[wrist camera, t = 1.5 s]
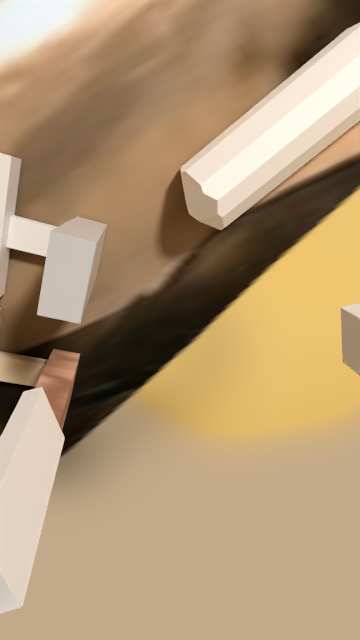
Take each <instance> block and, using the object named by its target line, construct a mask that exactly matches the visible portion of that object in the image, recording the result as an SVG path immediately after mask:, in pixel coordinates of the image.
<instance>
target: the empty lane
mask: <svg viewBox="0 0 360 640" xmlns="http://www.w3.org/2000/svg"><path fill="white" fill-rule="evenodd" d="M20 167H21V159H19V158H16V157H12V156H9V155H6V154H2V153H0V297H1V296H2V295H3V294H4V293H5V285H6V277H7V269H8V262H9V254H10V248H13V249H17V250H21V251H25V252H29V253H33V254H37V255H41V256H45V257H46V261H45V268H44V274H43V280H42V286H41V292H40V299H39V305H38V311H37V315H40V316H45V317H49V318H54V319H59V320H64V321H69V322H74V323H79V324H80V323H81V320H82V317H83V314H84V311H85V309H86V306H87V303H88V300H89V297H90V295H91V292H92V289H93V286H94V283H95V280H96V276H97V271H98V266H99V262H100V257H101V252H102V248H103V243H104V238H105V233H106V229H107V224H103V223H99V222H96V221H92V220H89V219H85V218H81V217H78V216H77V217H76V218H74V219H72V220H70V221H68V222H66V223H64V224H62V225H60V226H58V227H57V226H53V225H49V224H45V223H42V222H38V221H34V220H30V219H27V218H23V217H19V216H15V215H14V214H15V207H16V199H17V191H18V183H19V175H20Z"/></svg>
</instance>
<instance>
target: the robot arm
mask: <svg viewBox="0 0 360 640" xmlns="http://www.w3.org/2000/svg"><path fill="white" fill-rule="evenodd" d="M341 326H342V352H343V362H344V363H345V364H346V365H347V366H349V367H350V368H351V369H352V370H354V371H355V372H356V373H357V374H359V375H360V304H358V303H357V304H353V305H349V306H345V307H342V308H341ZM64 439H65V438H64V435H63V433H62V431H61V428H60V426H59V424H58V422H57V419H56V417H55V415H54V413H53V410H52V408H51V406H50V404H49V401H48V399H47V397H46V394H45V392H44V390H43V388H42V387H39V388H35V389H31V390H28V391H24V392H23V394H22V396H21V398H20V400H19V402H18V404H17V406H16V408H15V410H14V412H13V413H12V415H11V417H10V419H9V421H8V423H7V425H6V427H5V429H4V431H3V433H2V435H1V437H0V613H3V612H7V611H10V610H13V609H17V608H20V607H22V606H23V602H24V598H25V595H26V590H27V586H28V583H29V579H30V575H31V571H32V567H33V562H34V559H35V555H36V551H37V546H38V542H39V539H40V535H41V531H42V527H43V523H44V519H45V515H46V511H47V507H48V503H49V499H50V495H51V491H52V487H53V483H54V479H55V475H56V471H57V467H58V463H59V459H60V455H61V451H62V447H63V443H64Z"/></svg>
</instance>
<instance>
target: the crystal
mask: <svg viewBox="0 0 360 640" xmlns="http://www.w3.org/2000/svg"><path fill="white" fill-rule="evenodd" d="M359 121H360V23H358V24H356V25H354V26H352V27H350V28H348V29H346V30H345V31H344V32H343V33H342V34H340V35H339V36H338V37H337V38H336V39H334V40H333V41H332V42H331V43H330V44H328V45H327V46H326V47H325V48H324V49H322V50H321V51H320V52H319V53H318V54H316V55H315V56H314V57H313V58H312V59H310V60H309V61H308V62H307V63H306V64H304V65H303V66H302V67H301V68H300V69H298V70H297V71H296V72H295V73H294V74H292V75H291V76H290V77H289V78H288V79H286V80H285V81H284V82H283V83H282V84H280V85H279V86H278V87H277V88H276V89H274V90H273V91H272V92H271V93H270V94H268V95H267V96H266V97H265V98H264V99H262V100H261V101H260V102H259V103H258V104H256V105H255V106H254V107H253V108H251V109H250V110H249V111H248V112H247V113H245V114H244V115H243V116H242V117H241V118H239V119H238V120H237V121H236V122H235V123H233V124H232V125H231V126H230V127H229V128H227V129H226V130H225V131H224V132H223V133H221V134H220V135H219V136H218V137H217V138H215V139H214V140H213V141H212V142H211V143H209V144H208V145H207V146H206V147H205V148H203V149H202V150H201V151H200V152H199V153H197V154H196V155H195V156H194V157H193V158H191V159H190V160H189V161H188V162H187V163H185V164H184V165H183V166H182V167H181V177H182V183H183V189H184V194H185V200H186V205H187V209H188V212H189V214H190V215H191V216H192V217H194V218H195V219H197V220H198V221H199V222H202V223H204V224H207V225H209V226H211V227H214V228H216V229H219V230H222V229H224V228H225V227H226V226H228V225H229V224H230V223H231V222H233V221H234V220H235V219H236V218H238V217H239V216H240V215H241V214H243V213H244V212H245V211H246V210H248V209H249V208H250V207H251V206H253V205H254V204H255V203H257V202H258V201H259V200H260V199H262V198H263V197H264V196H265V195H267V194H268V193H269V192H270V191H272V190H273V189H274V188H275V187H277V186H278V185H279V184H280V183H282V182H283V181H284V180H285V179H287V178H288V177H289V176H291V175H292V174H293V173H294V172H296V171H297V170H298V169H299V168H301V167H302V166H303V165H304V164H306V163H307V162H308V161H309V160H311V159H312V158H313V157H314V156H316V155H317V154H318V153H319V152H321V151H322V150H323V149H325V148H326V147H327V146H328V145H330V144H331V143H332V142H333V141H335V140H336V139H337V138H338V137H340V136H341V135H342V134H343V133H345V132H346V131H347V130H348V129H350V128H351V127H352V126H353V125H355V124H356V123H357V122H359Z"/></svg>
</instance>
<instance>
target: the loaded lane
mask: <svg viewBox="0 0 360 640" xmlns="http://www.w3.org/2000/svg"><path fill="white" fill-rule="evenodd" d="M2 309H3V308H2V307H0V325H1V317H2ZM79 356H80V354H79V353H73V352H68V351H62V350H57V349H53V350H52V353H51V355H50V357H49V359H48V360H46V359H41V358H35V357H30V356H24V355H18V354H13V353H7V352H2V351H0V381H4V382H10V383H16V384H22V385H29V386H35V388H39V387H42V388H43V390H44V392H45V394H46V397H47V399H48V401H49V404H50V406H51V408H52V410H53V413H54V415H55V417H56V419H57V422H58V424H59V426H60V428H61V431H62V428H63V424H64V421H65V417H66V413H67V410H68V406H69V402H70V399H71V394H72V390H73V385H74V380H75V375H76V371H77V366H78V361H79Z"/></svg>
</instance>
